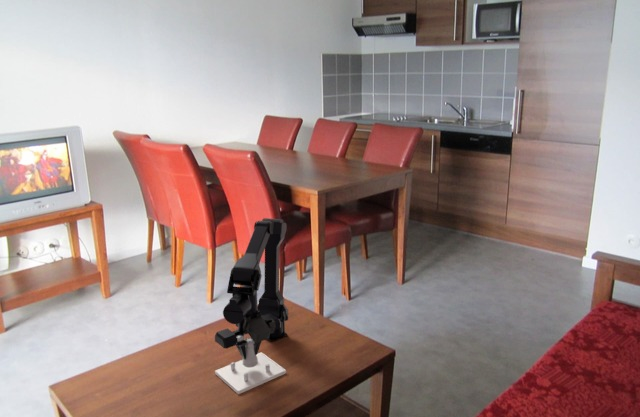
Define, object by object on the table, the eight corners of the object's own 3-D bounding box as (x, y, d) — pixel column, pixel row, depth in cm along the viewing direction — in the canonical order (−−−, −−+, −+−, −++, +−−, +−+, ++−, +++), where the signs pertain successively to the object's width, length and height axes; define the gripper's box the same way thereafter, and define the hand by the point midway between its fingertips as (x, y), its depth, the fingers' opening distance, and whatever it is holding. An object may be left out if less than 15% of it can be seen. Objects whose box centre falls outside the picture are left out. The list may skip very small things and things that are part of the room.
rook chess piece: (239, 364, 156) (237, 339, 154) (250, 358, 159) (249, 333, 157) (249, 370, 153) (248, 344, 151) (261, 363, 156) (260, 338, 154)
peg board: (261, 355, 167) (261, 346, 166) (286, 373, 157) (285, 364, 156) (215, 373, 157) (214, 364, 156) (238, 394, 147) (237, 384, 146)
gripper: (232, 328, 140) (236, 381, 144) (291, 307, 151) (292, 357, 155) (212, 313, 148) (215, 363, 152) (268, 294, 159) (270, 341, 164)
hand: (249, 356), depth 156 cm, fingers closed on rook chess piece, 3 cm apart
